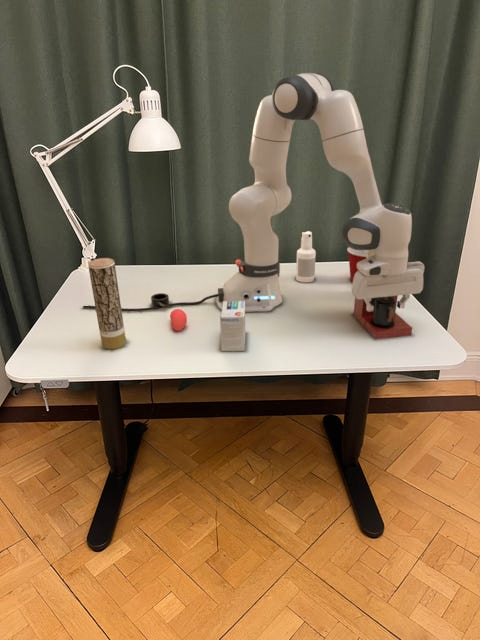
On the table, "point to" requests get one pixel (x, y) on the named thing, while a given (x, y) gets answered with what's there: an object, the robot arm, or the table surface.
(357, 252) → the plastic cup
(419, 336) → the table surface
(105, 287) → the paper tube
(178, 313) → the red bean-shaped piece
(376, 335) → the warming base
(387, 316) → the kettle
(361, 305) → the coffee maker
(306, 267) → the spray bottle
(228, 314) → the light bulb box
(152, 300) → the duct tape
